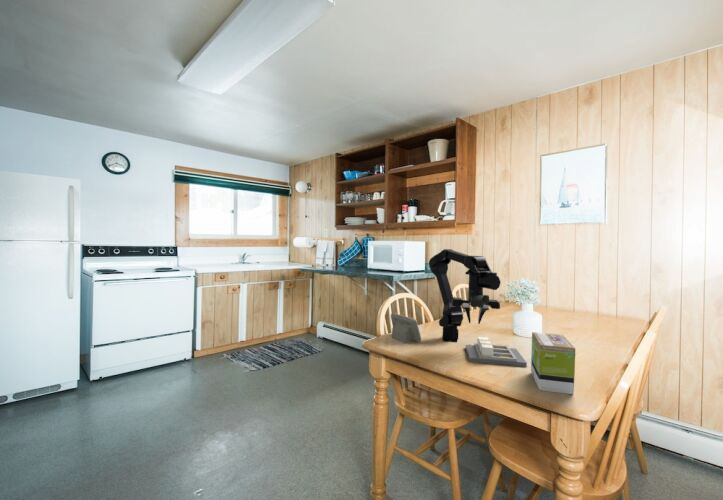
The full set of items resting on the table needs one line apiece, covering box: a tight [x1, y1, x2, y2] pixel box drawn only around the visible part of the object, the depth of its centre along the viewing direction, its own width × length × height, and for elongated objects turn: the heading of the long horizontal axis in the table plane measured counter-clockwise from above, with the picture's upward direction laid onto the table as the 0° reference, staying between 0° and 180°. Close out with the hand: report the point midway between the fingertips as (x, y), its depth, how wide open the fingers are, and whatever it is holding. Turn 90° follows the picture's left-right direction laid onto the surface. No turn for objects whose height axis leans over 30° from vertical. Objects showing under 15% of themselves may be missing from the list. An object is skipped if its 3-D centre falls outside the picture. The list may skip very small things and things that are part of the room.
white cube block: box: [479, 340, 492, 351], centre depth 138 cm, size 4×4×4 cm
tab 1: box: [476, 336, 490, 347], centre depth 143 cm, size 4×4×4 cm
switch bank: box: [465, 342, 528, 368], centre depth 137 cm, size 20×16×2 cm
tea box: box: [530, 331, 576, 395], centre depth 114 cm, size 15×10×15 cm
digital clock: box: [390, 312, 422, 343], centre depth 159 cm, size 16×9×11 cm, turn 26°
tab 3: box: [481, 344, 494, 356], centre depth 133 cm, size 4×4×4 cm
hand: (474, 323), depth 145 cm, fingers open, 3 cm apart
